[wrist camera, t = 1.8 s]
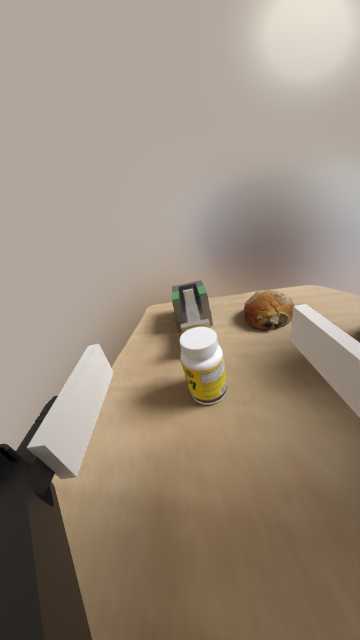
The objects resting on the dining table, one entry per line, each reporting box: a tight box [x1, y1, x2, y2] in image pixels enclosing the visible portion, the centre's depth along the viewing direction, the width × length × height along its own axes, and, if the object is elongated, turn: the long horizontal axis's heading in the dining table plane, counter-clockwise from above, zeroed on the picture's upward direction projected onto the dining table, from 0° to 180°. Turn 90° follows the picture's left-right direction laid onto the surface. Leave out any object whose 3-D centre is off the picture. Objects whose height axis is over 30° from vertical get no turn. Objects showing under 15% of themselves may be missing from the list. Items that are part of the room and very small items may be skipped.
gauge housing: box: [172, 281, 213, 332], centre depth 48 cm, size 10×8×8 cm
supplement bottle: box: [180, 327, 227, 405], centre depth 28 cm, size 6×6×10 cm
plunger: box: [181, 288, 210, 334], centre depth 39 cm, size 10×5×9 cm, turn 3°
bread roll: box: [244, 290, 294, 330], centre depth 42 cm, size 10×10×8 cm
